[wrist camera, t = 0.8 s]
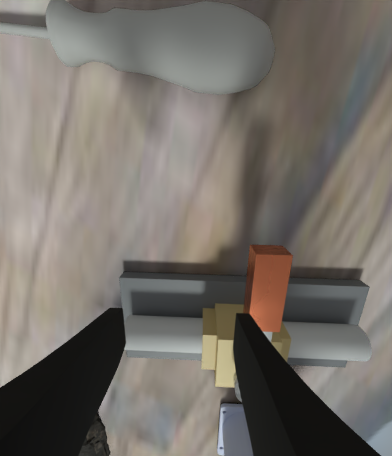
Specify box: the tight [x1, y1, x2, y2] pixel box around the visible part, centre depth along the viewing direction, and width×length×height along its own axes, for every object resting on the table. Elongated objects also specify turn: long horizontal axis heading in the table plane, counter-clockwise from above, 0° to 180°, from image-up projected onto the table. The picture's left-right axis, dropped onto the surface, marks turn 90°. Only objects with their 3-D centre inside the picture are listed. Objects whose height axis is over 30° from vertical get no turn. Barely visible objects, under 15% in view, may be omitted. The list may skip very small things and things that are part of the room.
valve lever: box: [233, 245, 293, 402], centre depth 13 cm, size 12×3×2 cm, turn 179°
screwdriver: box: [0, 0, 275, 95], centre depth 14 cm, size 5×25×4 cm, turn 81°
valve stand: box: [119, 272, 372, 387], centre depth 18 cm, size 10×24×6 cm, turn 89°
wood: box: [79, 414, 110, 456], centre depth 27 cm, size 22×8×3 cm, turn 175°
